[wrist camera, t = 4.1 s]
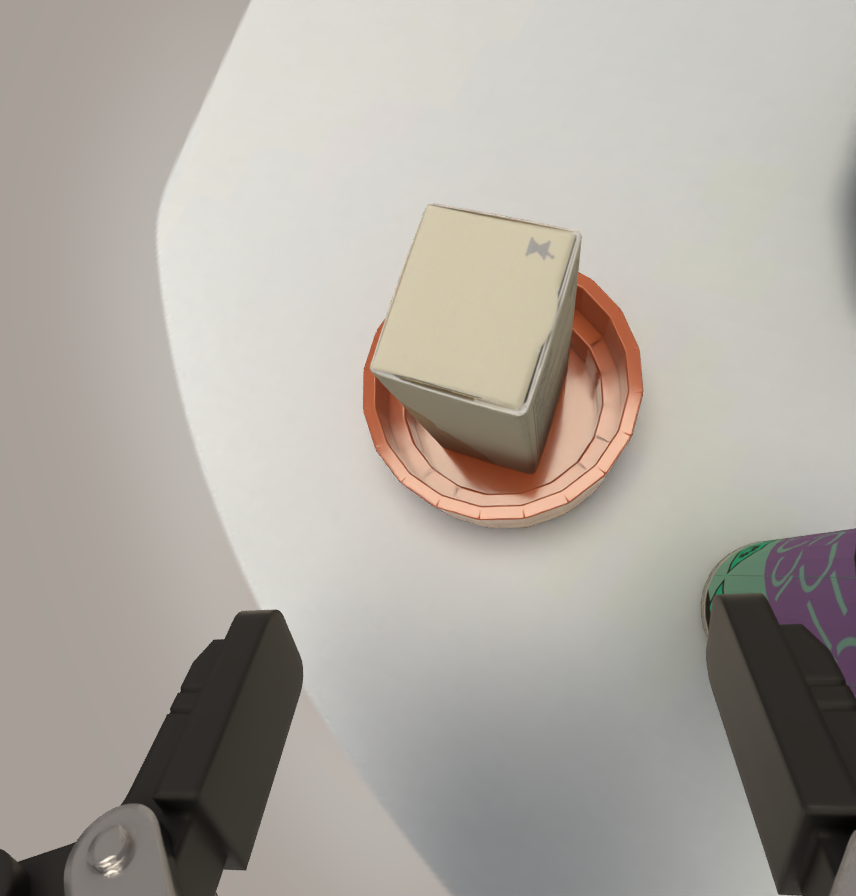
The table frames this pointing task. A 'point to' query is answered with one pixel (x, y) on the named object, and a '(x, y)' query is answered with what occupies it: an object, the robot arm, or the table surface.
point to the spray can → (799, 587)
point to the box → (482, 332)
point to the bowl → (568, 444)
